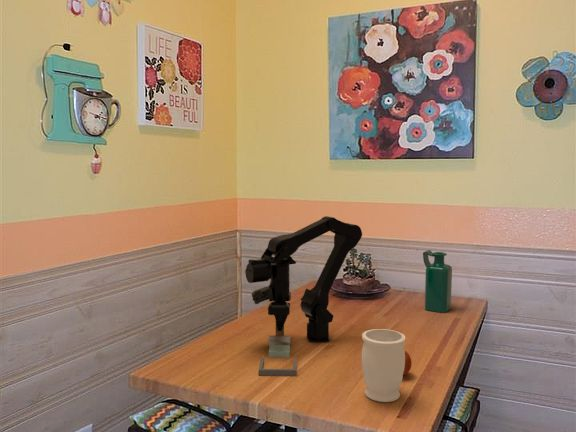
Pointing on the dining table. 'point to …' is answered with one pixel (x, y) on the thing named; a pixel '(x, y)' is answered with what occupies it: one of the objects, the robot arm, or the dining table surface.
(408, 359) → the fruit
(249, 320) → the dining table surface
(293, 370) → the frame
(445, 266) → the pitcher
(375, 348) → the jar
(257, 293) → the robot arm
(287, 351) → the tile
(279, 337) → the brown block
